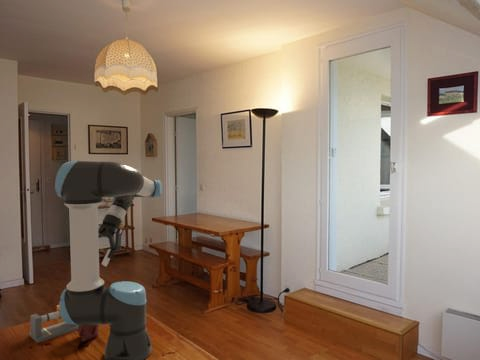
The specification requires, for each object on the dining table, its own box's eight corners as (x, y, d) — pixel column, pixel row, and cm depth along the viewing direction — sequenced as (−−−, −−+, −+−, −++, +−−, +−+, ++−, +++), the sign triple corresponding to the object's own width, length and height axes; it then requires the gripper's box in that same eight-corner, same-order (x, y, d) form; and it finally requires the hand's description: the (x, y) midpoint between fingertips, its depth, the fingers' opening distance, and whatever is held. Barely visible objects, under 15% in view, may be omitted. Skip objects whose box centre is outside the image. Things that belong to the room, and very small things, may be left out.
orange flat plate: (60, 317, 140) (59, 304, 140) (65, 321, 136) (65, 308, 136) (56, 318, 139) (56, 305, 139) (62, 322, 136) (62, 309, 135)
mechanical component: (108, 332, 137) (92, 345, 127) (85, 329, 139) (67, 342, 129) (108, 300, 136) (92, 310, 126) (84, 298, 138) (67, 308, 128)
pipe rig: (75, 321, 146) (75, 301, 146) (84, 327, 141) (84, 306, 140) (29, 335, 133) (29, 313, 133) (37, 342, 128) (36, 320, 128)
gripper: (141, 225, 157) (119, 271, 147) (97, 218, 167) (74, 260, 156) (132, 217, 152) (109, 264, 141) (87, 210, 161) (62, 253, 150)
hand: (90, 262), depth 149 cm, fingers open, 13 cm apart
